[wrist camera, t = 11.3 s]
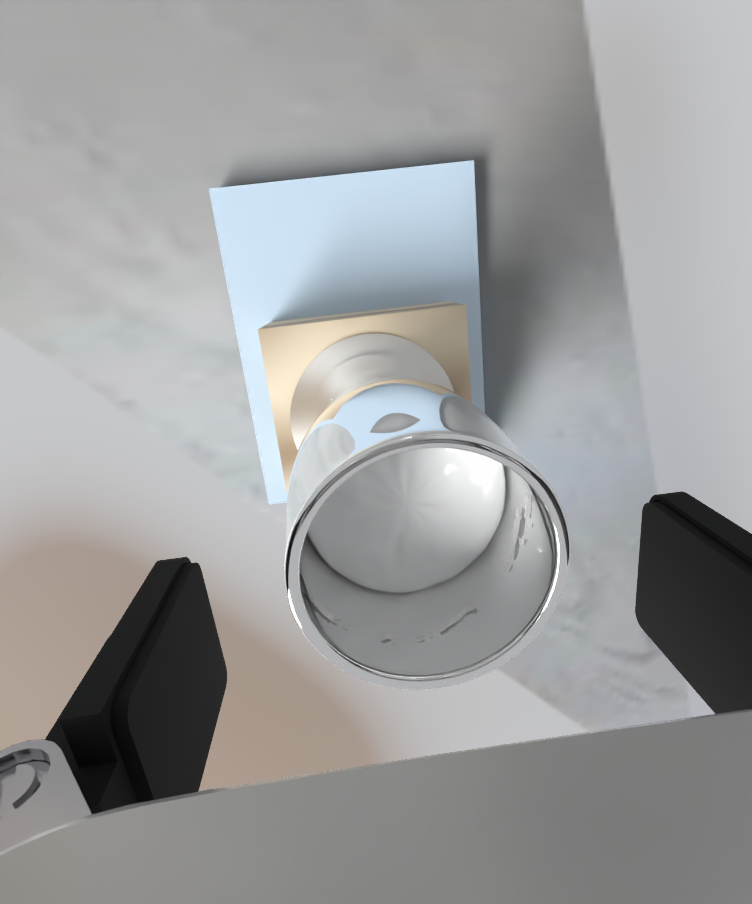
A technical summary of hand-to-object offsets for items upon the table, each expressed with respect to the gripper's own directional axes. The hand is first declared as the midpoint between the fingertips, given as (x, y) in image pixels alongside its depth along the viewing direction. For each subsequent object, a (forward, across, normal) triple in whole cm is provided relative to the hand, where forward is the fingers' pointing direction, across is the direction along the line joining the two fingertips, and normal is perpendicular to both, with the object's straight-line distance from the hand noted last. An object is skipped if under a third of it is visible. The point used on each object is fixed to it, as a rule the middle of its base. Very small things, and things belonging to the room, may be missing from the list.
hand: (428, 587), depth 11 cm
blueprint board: (+23, 0, -2) cm, 23 cm away
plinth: (+21, 0, +1) cm, 21 cm away
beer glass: (+16, 0, 0) cm, 16 cm away
